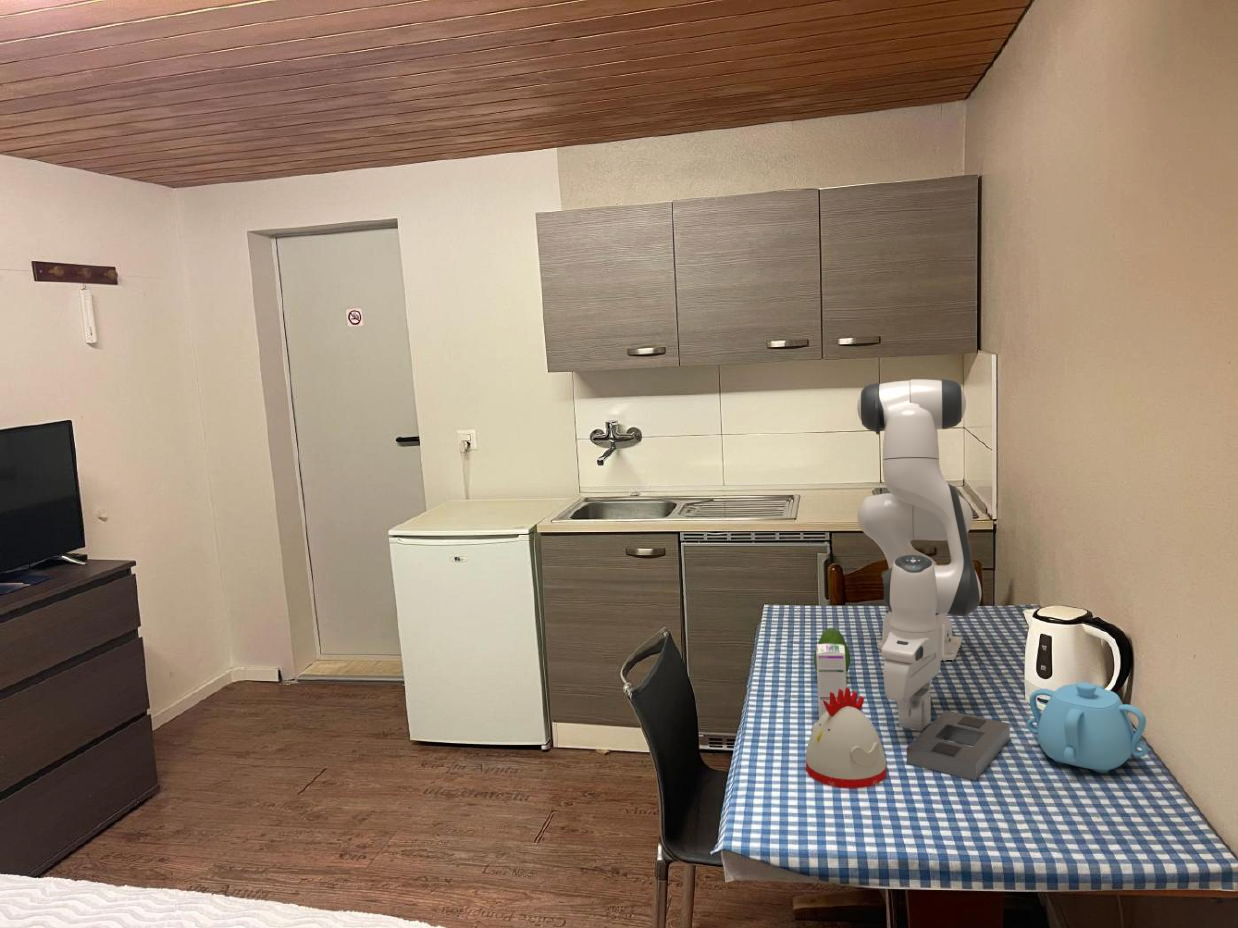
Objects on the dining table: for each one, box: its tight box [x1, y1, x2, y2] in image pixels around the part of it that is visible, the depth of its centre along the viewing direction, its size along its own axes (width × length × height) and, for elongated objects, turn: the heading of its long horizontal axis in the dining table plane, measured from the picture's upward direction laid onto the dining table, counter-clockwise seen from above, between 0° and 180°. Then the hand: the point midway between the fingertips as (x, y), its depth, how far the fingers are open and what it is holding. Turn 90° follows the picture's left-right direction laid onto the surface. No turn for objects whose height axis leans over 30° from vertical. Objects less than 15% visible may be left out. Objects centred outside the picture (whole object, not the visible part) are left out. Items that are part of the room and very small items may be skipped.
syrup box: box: [815, 643, 848, 720], centre depth 182 cm, size 6×6×14 cm
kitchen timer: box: [805, 686, 887, 789], centre depth 160 cm, size 14×14×15 cm
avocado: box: [813, 627, 851, 674], centre depth 203 cm, size 8×8×12 cm
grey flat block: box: [906, 709, 1011, 782], centre depth 165 cm, size 20×12×3 cm, turn 141°
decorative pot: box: [1026, 681, 1149, 774], centre depth 160 cm, size 16×16×14 cm
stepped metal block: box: [897, 688, 932, 732], centre depth 177 cm, size 4×5×7 cm
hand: (914, 708), depth 177 cm, fingers open, 8 cm apart
